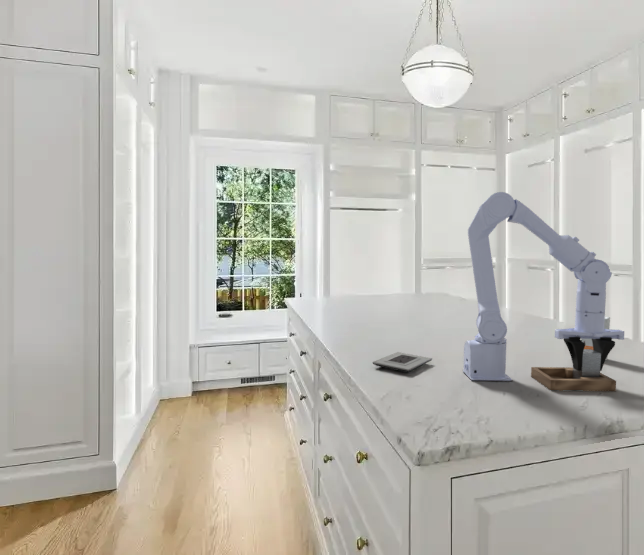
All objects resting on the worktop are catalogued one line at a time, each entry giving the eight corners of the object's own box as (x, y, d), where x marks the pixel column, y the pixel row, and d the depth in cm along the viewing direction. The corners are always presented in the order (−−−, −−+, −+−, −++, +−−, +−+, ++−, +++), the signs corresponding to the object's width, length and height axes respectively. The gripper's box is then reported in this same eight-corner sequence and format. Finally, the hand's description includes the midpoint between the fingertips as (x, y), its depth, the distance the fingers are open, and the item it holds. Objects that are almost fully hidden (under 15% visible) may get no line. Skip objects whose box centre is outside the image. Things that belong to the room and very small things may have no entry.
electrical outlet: (397, 359, 124) (397, 350, 124) (432, 365, 118) (432, 357, 117) (372, 369, 114) (372, 360, 114) (408, 377, 108) (408, 368, 107)
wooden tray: (550, 390, 97) (550, 380, 96) (531, 376, 106) (531, 367, 106) (615, 391, 96) (616, 380, 96) (590, 377, 106) (590, 367, 106)
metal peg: (581, 383, 99) (582, 353, 99) (572, 378, 103) (573, 349, 103) (599, 383, 99) (601, 353, 99) (589, 378, 103) (591, 349, 103)
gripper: (566, 313, 96) (563, 374, 97) (634, 314, 95) (631, 375, 96) (551, 309, 103) (548, 365, 104) (614, 309, 102) (611, 366, 103)
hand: (587, 369), depth 101 cm, fingers closed on metal peg, 4 cm apart
